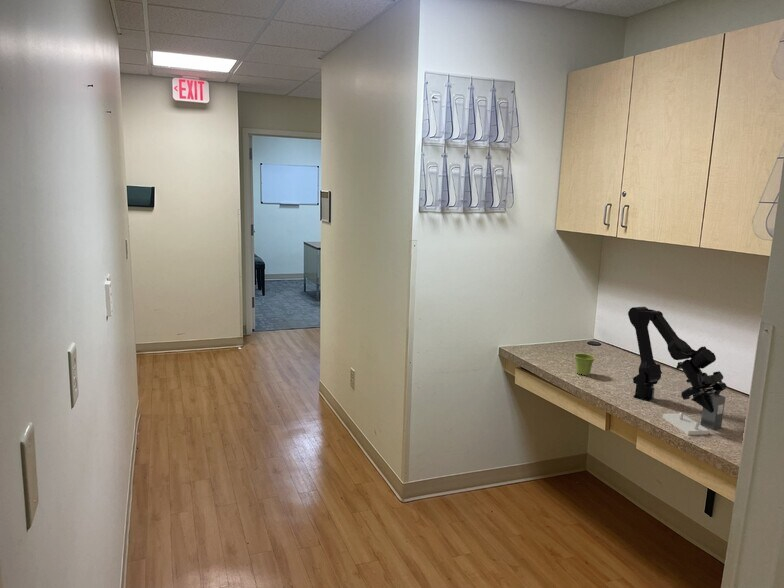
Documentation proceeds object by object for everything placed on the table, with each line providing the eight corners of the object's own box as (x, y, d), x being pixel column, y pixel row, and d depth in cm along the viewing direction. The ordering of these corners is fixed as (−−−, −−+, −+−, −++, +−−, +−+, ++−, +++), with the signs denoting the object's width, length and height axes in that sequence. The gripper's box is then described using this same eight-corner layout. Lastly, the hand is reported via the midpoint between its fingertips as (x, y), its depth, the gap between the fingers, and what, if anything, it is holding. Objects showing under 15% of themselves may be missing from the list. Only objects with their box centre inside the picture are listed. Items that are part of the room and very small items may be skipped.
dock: (662, 417, 225) (663, 407, 224) (681, 416, 226) (682, 407, 225) (687, 434, 209) (689, 424, 208) (708, 434, 210) (709, 424, 209)
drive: (700, 424, 219) (704, 393, 217) (707, 423, 220) (712, 392, 218) (713, 430, 214) (718, 398, 212) (721, 428, 215) (725, 397, 213)
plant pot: (585, 370, 281) (587, 353, 279) (597, 376, 272) (599, 358, 271) (568, 371, 279) (570, 353, 277) (579, 377, 270) (581, 359, 268)
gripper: (691, 367, 213) (714, 405, 205) (726, 362, 220) (749, 399, 212) (671, 380, 221) (692, 418, 213) (705, 375, 229) (727, 411, 221)
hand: (716, 411), depth 215 cm, fingers closed on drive, 4 cm apart
